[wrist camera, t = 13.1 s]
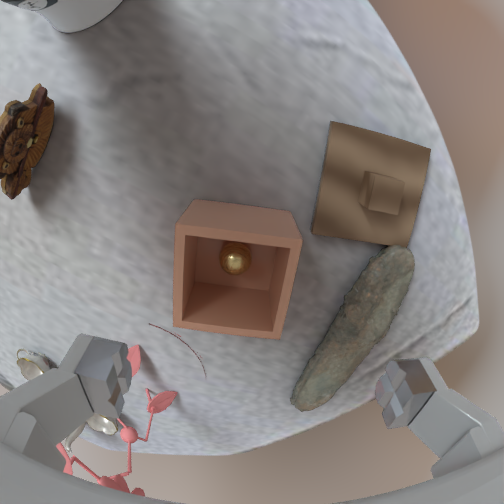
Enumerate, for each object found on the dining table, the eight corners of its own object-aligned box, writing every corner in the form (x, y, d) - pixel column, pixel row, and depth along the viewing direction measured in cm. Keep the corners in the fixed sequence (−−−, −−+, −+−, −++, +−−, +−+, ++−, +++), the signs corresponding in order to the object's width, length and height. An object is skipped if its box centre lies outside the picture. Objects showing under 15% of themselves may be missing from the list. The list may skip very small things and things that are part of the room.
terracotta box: (194, 198, 37) (175, 223, 27) (290, 211, 37) (302, 239, 28) (188, 283, 41) (173, 326, 32) (274, 293, 42) (279, 339, 33)
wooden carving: (39, 196, 36) (-4, 216, 27) (20, 185, 35) (-23, 203, 26) (72, 90, 30) (26, 86, 21) (50, 82, 29) (5, 78, 20)
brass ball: (222, 235, 37) (218, 247, 34) (254, 239, 38) (254, 252, 34) (218, 264, 39) (215, 279, 35) (249, 268, 39) (249, 283, 36)
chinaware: (135, 404, 55) (119, 464, 40) (108, 431, 59) (92, 482, 43) (30, 329, 48) (-10, 376, 32) (17, 368, 52) (-13, 411, 36)
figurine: (164, 415, 54) (137, 565, 22) (92, 320, 44) (-4, 497, 12) (232, 404, 52) (230, 576, 20) (168, 297, 43) (88, 538, 10)
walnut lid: (330, 121, 32) (341, 120, 28) (427, 148, 33) (445, 152, 29) (310, 231, 38) (317, 244, 34) (403, 245, 38) (418, 258, 34)
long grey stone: (275, 392, 53) (320, 397, 54) (278, 414, 48) (325, 418, 50) (371, 229, 38) (421, 250, 40) (387, 247, 33) (439, 268, 35)
